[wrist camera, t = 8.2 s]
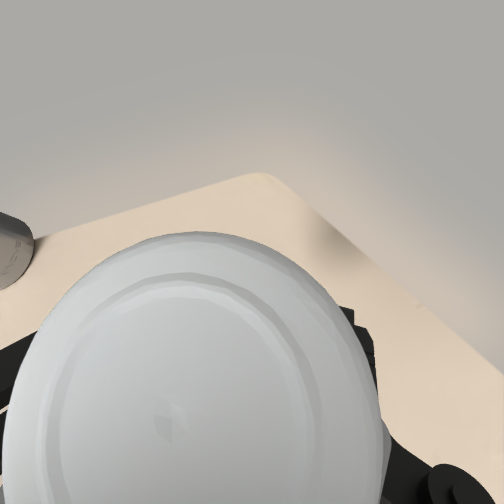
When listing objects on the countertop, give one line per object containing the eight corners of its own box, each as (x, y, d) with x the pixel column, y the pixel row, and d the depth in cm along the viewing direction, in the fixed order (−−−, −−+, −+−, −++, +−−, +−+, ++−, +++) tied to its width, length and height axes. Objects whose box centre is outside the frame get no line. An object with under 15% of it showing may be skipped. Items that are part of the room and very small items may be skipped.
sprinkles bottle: (242, 297, 17) (80, 190, 4) (318, 318, 16) (428, 267, 3) (219, 376, 16) (-101, 578, 3) (299, 403, 15) (346, 877, 2)
